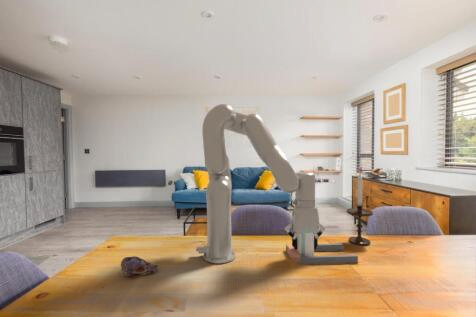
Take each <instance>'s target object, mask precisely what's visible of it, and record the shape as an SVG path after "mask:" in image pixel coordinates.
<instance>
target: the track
mask: <svg viewBox="0 0 476 317" xmlns="http://www.w3.org/2000/svg"><path fill="white" fill-rule="evenodd" d="M285 251H286V252H287V254H288V256H289V258H290V259H291V261H292V262H293V264H294V265H295V266H297V265H327V264H331V265H332V264H333V265H335V264H358V263H359V256H358V255H357V254H327V255H326V254H325V255H323V254H322V255H314V256H300V255H299V254H298V253H297V251H296V250H295V249H294V247H293V246H292V242H291V243H286V244H285ZM341 251H342V252H343V251H344V244H343V243H341V242H340V243H339V242H338V243H336V242H335V243H318V245H317V247H316V249H314V252H341Z"/></svg>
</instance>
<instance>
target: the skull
mask: <svg viewBox="0 0 476 317" xmlns="http://www.w3.org/2000/svg"><path fill="white" fill-rule="evenodd" d="M120 267H121V268H120V271H121V273H122V274H123V275H125V276H133V275H135V274H136V275H137V274H138V275H142V276H145V275H149V274H152V272H153V273H155V272H156V270H158V267H159V264H158V263H157V262H148V261H147V260H145V259H143V258H141V257H139V256H134V255H133V256H126V257H124V258H123V259H122V260H121V261H120Z"/></svg>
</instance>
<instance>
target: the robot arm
mask: <svg viewBox="0 0 476 317" xmlns="http://www.w3.org/2000/svg"><path fill="white" fill-rule="evenodd" d="M201 129H202V144H203V145H202V146H203V154H204V155H203V157H204V166H205V169H206V170H207V172H208V174H207V175H208V184H207V186H206V189H205V190H206V191H205V199H206V200H205V201H206V220H207V221H206V223H207V224H206V226H207V227H206V228H207V230H206V234H207V236H206V237H207V238H206V239H207V241H206V242H207V243H206V245H204V246H201V245H200V246H195V250H196V252H198V254H203V259H204V260H205V261H206V262H208V263H211V264H227V263H230V262H232V261H233V260H234V259H235V258H236V252H235V251H234V250H232V189H233V186H232V177H231V167H230V159H229V157H228V156H229V155H227V150H226V141H225V130H227V131H230V132H234V133H235V134H240V135H243V136H246V138H247V139H248V140H249V142H250V144H251V146H252V147H253V149H254V150H255V152H256V154H257V155H258V157H259V159H260V160H261V161H262V162H263V164H265V165H266V167H267V168H268V170H269V171H270V173H271V174H272V176H273V178H274V181H275V185H276V186H277V188H278V189H280V190H281V191H282V192H283V193H286V194H293V193H295V195H294V196H295V198H294V200H291V204H292V205H293V208H292V212H291V222H290V223H289V224H287V225H286V226H285V227H284V230H285V231H286V233H287V234H288V236H290V237H291V244H292V246H293V247H294V249H295V250H297V239H296V237H297V235H298V234H301V233H302V232H303V231H304V230H307V229H306V228H309V229H308V230H310V231H312V232H313V234H314V249H316V247H317V245H318V244H319V243H318V239H319V238H320V237H321V236H322V235H323V233H324V232H325V231H326V227H324V225H323V224H321V223H320V219H319V218H320V217H319V211H318V207H317V206H316V174H315V173H314V172H311V171H300V172H295V170H294V169H293V167H292V165H291V164H290V161H288V159H287V157H286V156H285V154H284V152H283V151H282V150H281V148H280V147H279V145H278V143H277V142H276V141H275V138H274V137H273V136H272V133H271V132H270V130H269V128H268V126H267V125H266V123H265V121H264V120H263V118H262V117H261V116H260V115H258V114H256V113H250V114H244V113H241V112H238V111H235V110H234V108H233V107H232V106H231V105H229V104H226V103H220V104H217V105H215V106H214V107H213V108H211V109H210V110H209V111H208V112H207V114H206V115H205V117H204V119H203V123H202V128H201ZM290 229H291V230H292V232H291V230H290Z"/></svg>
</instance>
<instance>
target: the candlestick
mask: <svg viewBox="0 0 476 317" xmlns="http://www.w3.org/2000/svg"><path fill="white" fill-rule="evenodd" d="M362 169H363V166H361V167H360V169H359V170H358V172H359V174H358V176H357V204H355V207H354V208H353V207H351V208H347V209H346V213H347V214H348V215H352V216H356V217H357V224H356V226H355V227H356V228H357V230H356V233H357V236H350V237H348V242H349V243H350V244H353V245H356V246H360V247H361V246H362V247H365V246H366V247H368V246H370V245H371V240H370V239H368V238H365V237H362V233H363V230H362V229H363V228H364V225H363V224H362V218H363V217H373V215H374V211H373V210H370V209H366V208H363V207H365V205H364V204H363V176H362Z"/></svg>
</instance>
